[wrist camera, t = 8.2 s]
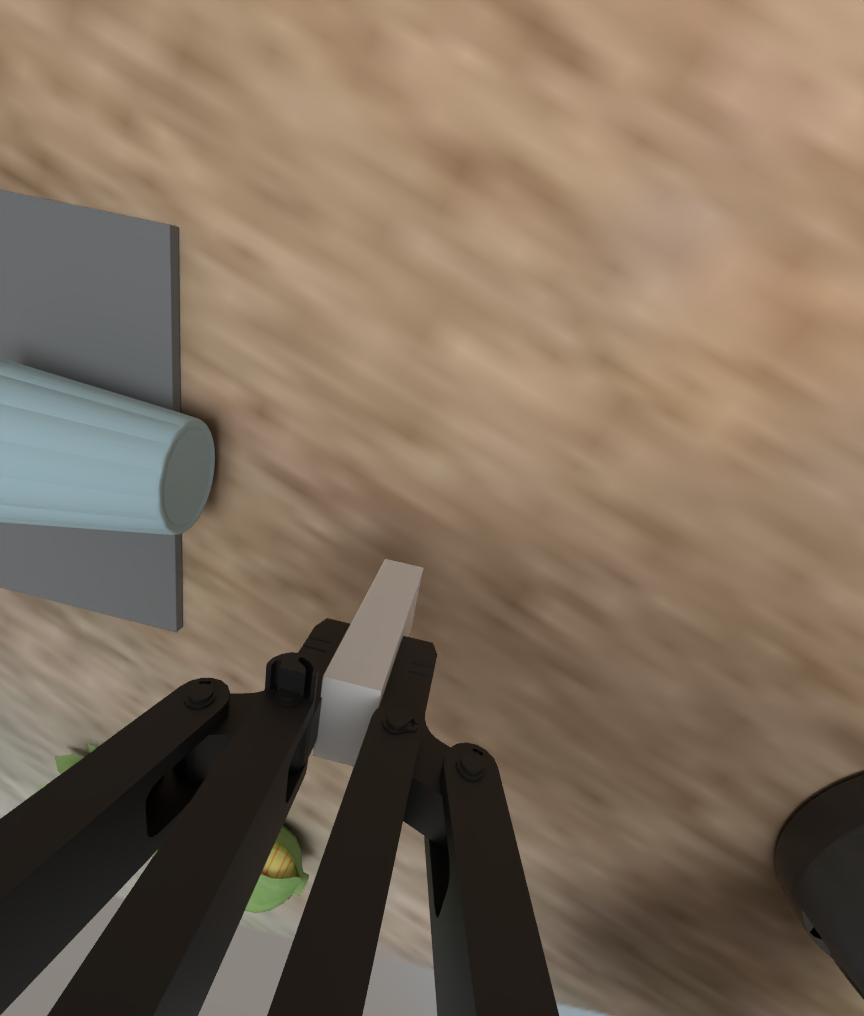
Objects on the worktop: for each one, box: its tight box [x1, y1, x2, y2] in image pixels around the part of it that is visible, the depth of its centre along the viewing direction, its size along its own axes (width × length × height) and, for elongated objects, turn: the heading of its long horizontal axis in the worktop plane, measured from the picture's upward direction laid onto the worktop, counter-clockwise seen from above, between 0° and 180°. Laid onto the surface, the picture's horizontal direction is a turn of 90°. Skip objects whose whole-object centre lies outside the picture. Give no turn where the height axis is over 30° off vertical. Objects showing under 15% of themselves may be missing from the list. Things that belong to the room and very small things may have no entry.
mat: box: [0, 190, 183, 632], centre depth 25 cm, size 14×22×1 cm, turn 169°
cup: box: [0, 358, 215, 535], centre depth 22 cm, size 8×8×10 cm
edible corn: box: [39, 742, 309, 913], centre depth 33 cm, size 5×20×5 cm
